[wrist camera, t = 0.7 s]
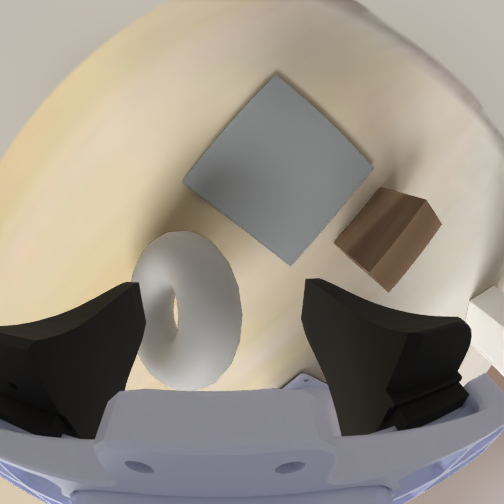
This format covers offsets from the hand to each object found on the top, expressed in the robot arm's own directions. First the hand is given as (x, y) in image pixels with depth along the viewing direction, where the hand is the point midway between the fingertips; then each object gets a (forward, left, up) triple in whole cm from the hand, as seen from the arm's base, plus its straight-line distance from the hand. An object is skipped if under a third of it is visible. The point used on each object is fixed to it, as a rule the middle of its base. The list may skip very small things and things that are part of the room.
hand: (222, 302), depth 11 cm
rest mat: (0, -7, -9) cm, 11 cm away
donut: (+3, +7, -8) cm, 11 cm away
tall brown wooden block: (-8, -8, -9) cm, 15 cm away
